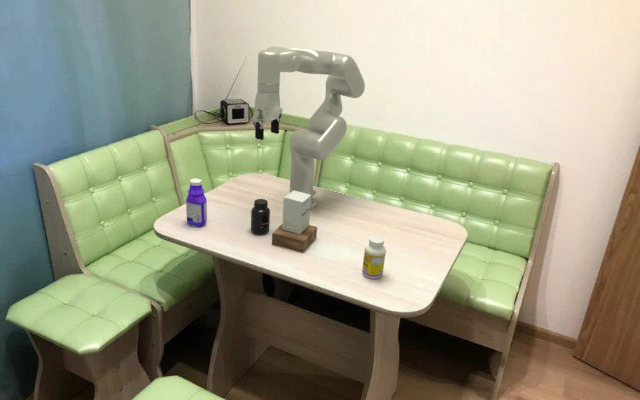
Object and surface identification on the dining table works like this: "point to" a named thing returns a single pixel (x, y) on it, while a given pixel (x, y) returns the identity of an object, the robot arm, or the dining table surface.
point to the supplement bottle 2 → (374, 258)
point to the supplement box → (296, 212)
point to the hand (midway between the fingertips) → (267, 135)
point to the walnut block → (294, 238)
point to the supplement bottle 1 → (260, 217)
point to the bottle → (196, 204)
